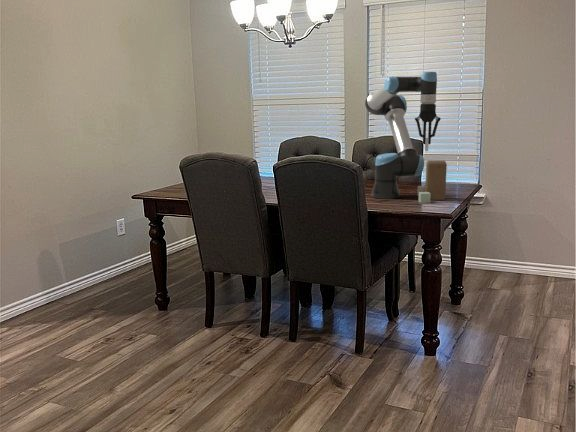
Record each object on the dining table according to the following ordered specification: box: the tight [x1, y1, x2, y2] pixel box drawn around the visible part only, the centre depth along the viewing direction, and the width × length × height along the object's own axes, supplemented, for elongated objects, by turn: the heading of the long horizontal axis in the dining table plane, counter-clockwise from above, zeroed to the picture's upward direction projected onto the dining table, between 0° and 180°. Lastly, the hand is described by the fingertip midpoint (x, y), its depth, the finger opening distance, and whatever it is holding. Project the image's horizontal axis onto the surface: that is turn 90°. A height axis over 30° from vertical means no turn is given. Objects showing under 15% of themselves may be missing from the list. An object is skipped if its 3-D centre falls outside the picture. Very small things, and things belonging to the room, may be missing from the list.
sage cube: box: [418, 192, 431, 204], centre depth 294 cm, size 5×5×5 cm
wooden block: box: [424, 160, 448, 201], centre depth 301 cm, size 10×10×20 cm
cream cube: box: [416, 185, 425, 197], centre depth 313 cm, size 5×5×5 cm
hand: (426, 150), depth 289 cm, fingers closed
